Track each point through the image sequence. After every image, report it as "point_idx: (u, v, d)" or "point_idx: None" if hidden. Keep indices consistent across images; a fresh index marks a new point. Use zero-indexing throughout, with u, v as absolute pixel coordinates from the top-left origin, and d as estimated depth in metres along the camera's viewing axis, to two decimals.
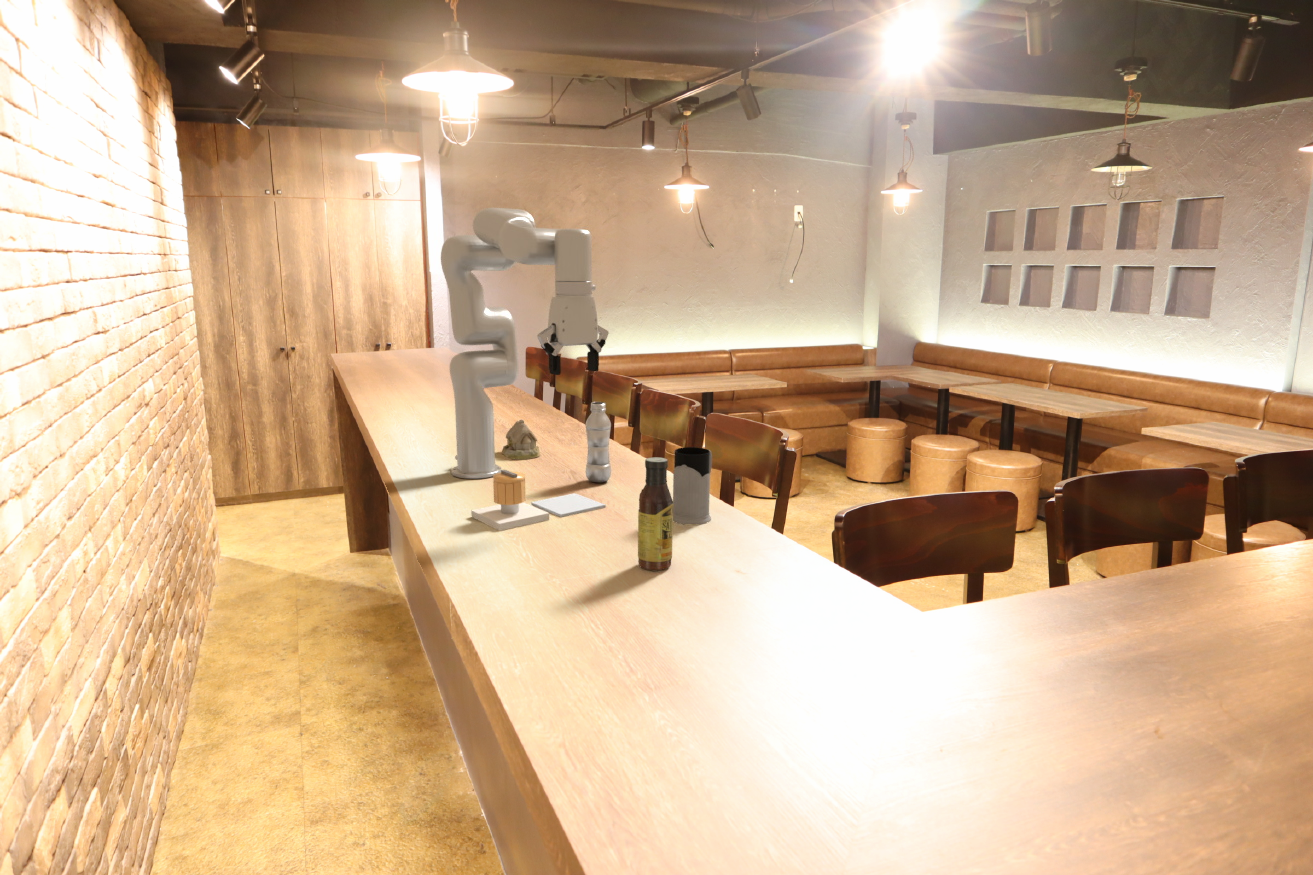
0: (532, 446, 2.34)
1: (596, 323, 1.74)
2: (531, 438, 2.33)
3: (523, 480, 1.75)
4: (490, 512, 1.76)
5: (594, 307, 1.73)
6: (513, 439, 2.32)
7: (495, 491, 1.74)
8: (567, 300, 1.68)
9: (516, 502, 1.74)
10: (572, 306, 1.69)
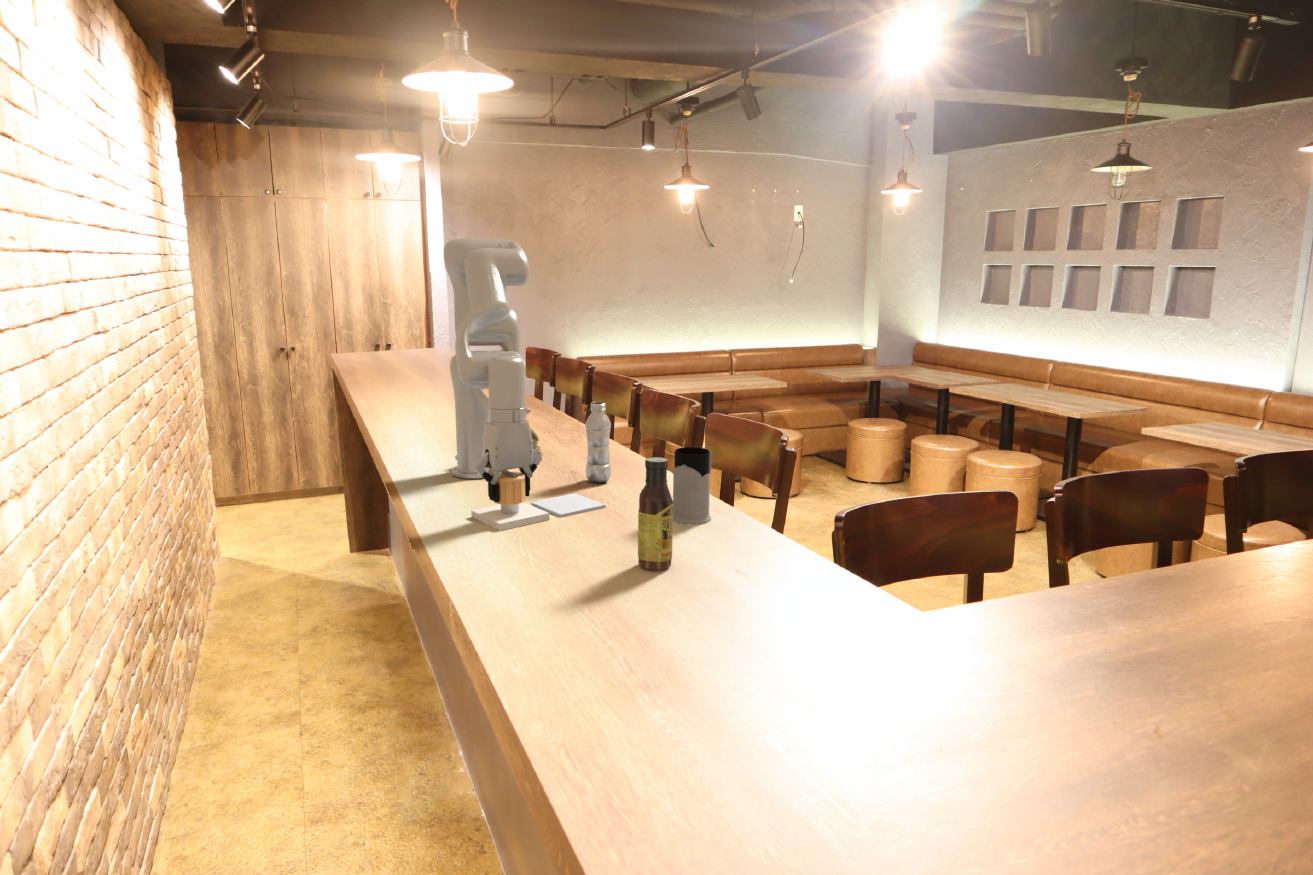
0: (534, 445, 2.35)
1: (531, 446, 1.75)
2: (533, 438, 2.34)
3: (523, 480, 1.75)
4: (490, 512, 1.76)
5: (528, 431, 1.74)
6: None
7: None
8: (500, 428, 1.70)
9: (516, 502, 1.74)
10: (505, 433, 1.70)
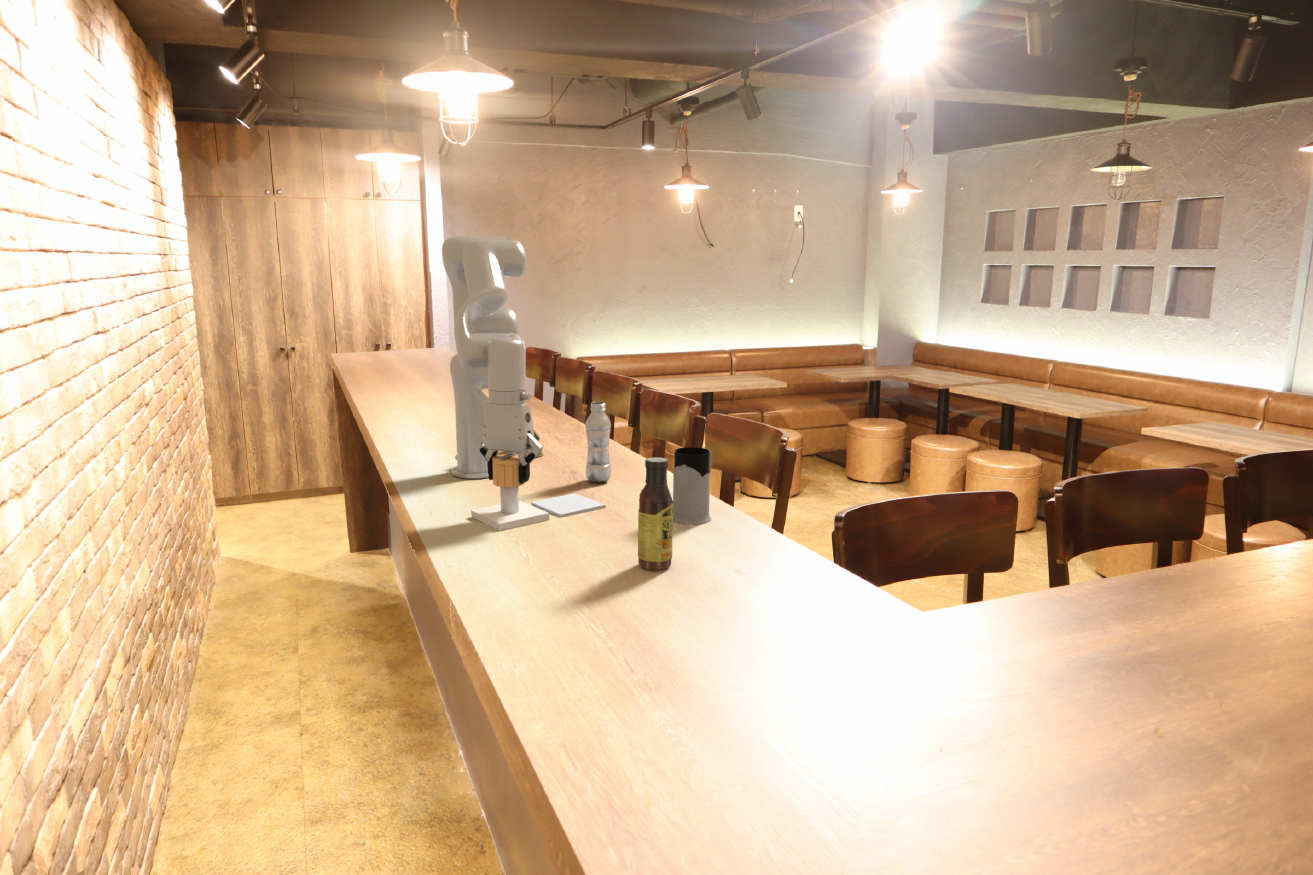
0: None
1: (521, 433, 1.70)
2: (535, 437, 2.34)
3: (509, 465, 1.72)
4: (490, 512, 1.76)
5: (518, 417, 1.70)
6: None
7: None
8: (488, 407, 1.72)
9: (499, 485, 1.73)
10: (493, 413, 1.71)
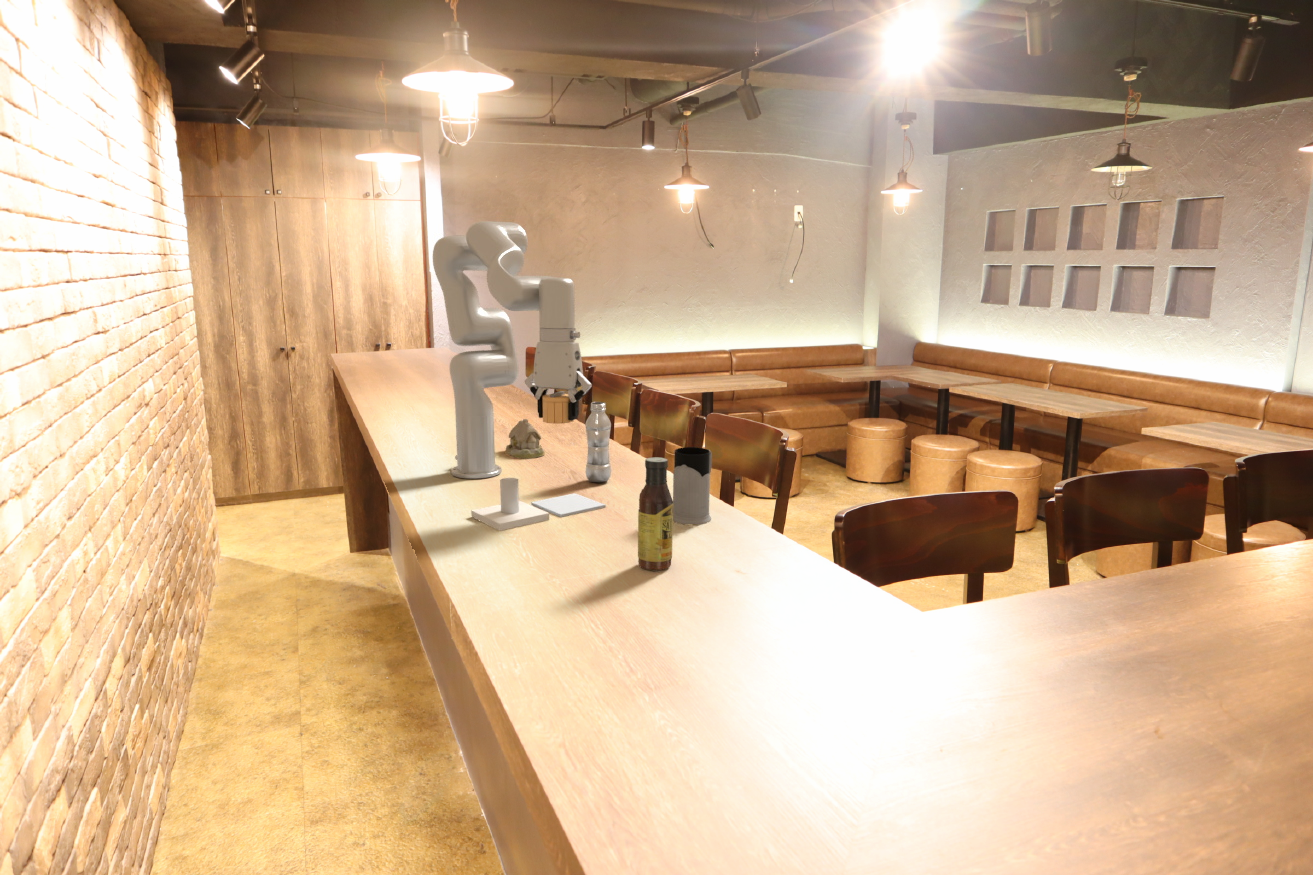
0: (537, 445, 2.35)
1: (571, 370, 1.75)
2: (536, 437, 2.35)
3: (559, 402, 1.77)
4: (490, 512, 1.76)
5: (568, 354, 1.75)
6: (518, 438, 2.33)
7: None
8: (539, 345, 1.77)
9: (549, 421, 1.78)
10: (543, 351, 1.77)
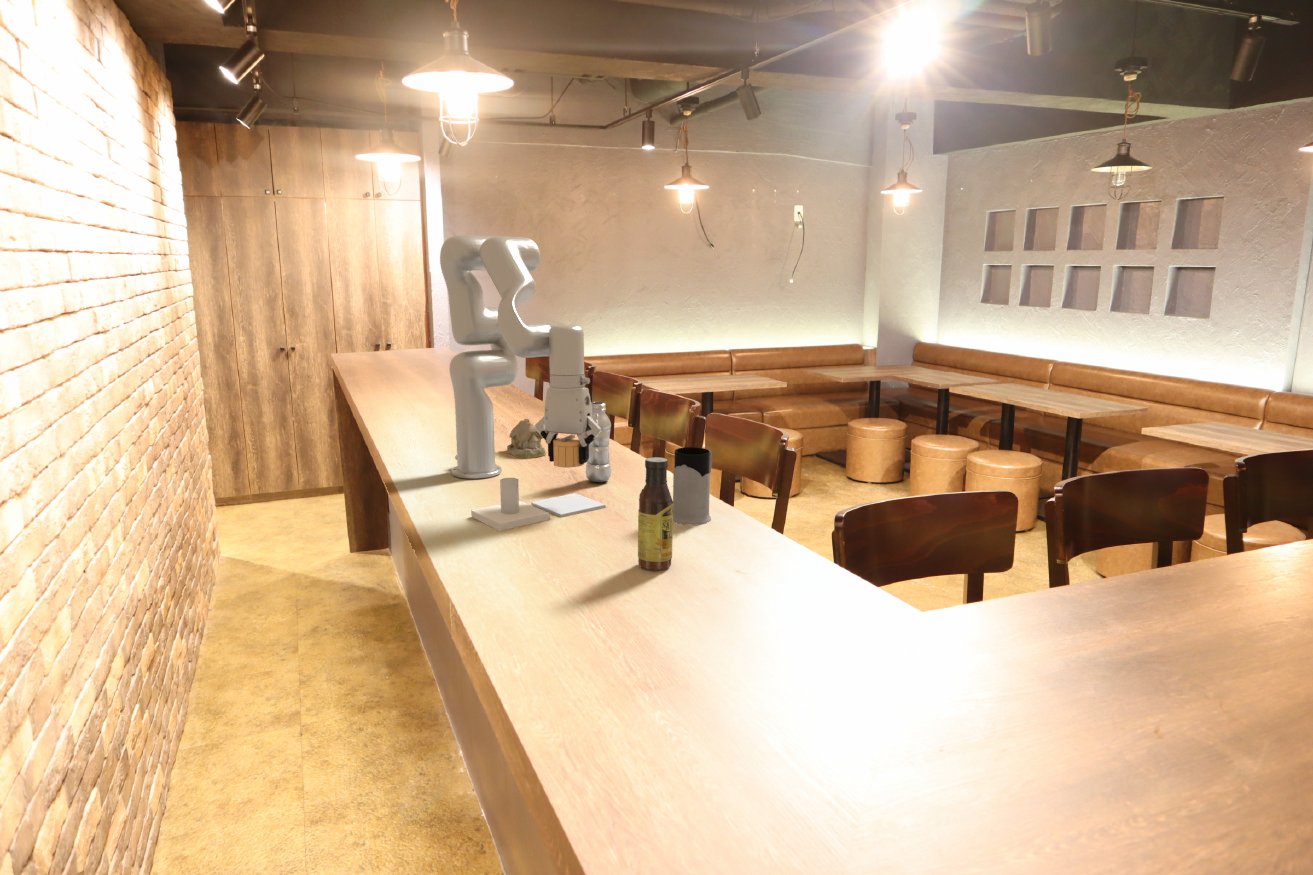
0: (538, 444, 2.36)
1: (581, 415, 1.79)
2: (538, 437, 2.35)
3: (570, 446, 1.81)
4: (490, 512, 1.76)
5: (579, 400, 1.79)
6: (520, 438, 2.34)
7: None
8: (550, 391, 1.80)
9: (560, 465, 1.82)
10: (554, 397, 1.80)
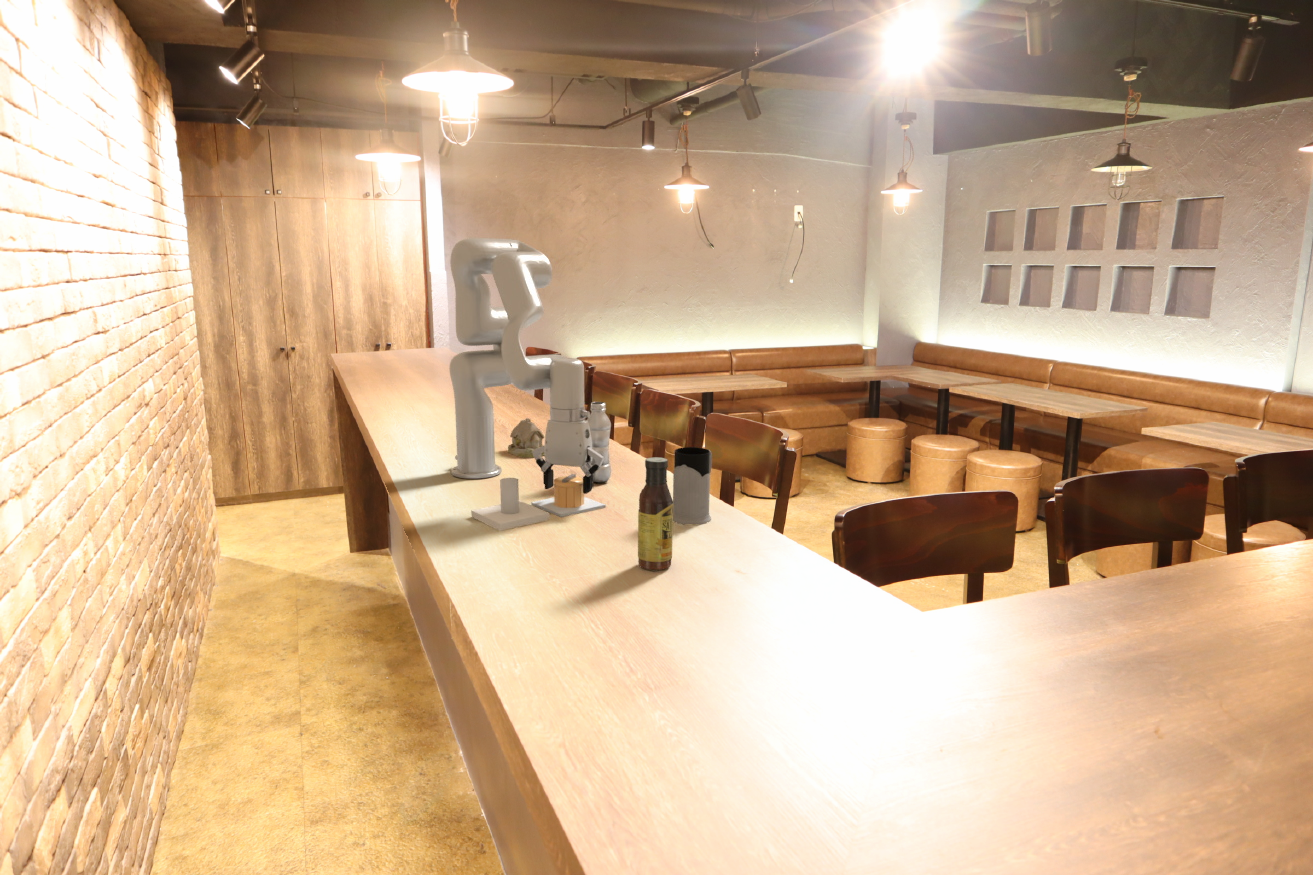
0: (540, 444, 2.37)
1: (581, 448, 1.81)
2: (539, 436, 2.36)
3: (571, 487, 1.83)
4: (490, 512, 1.76)
5: (578, 433, 1.80)
6: (522, 438, 2.34)
7: None
8: (550, 424, 1.82)
9: (561, 505, 1.84)
10: (554, 430, 1.82)
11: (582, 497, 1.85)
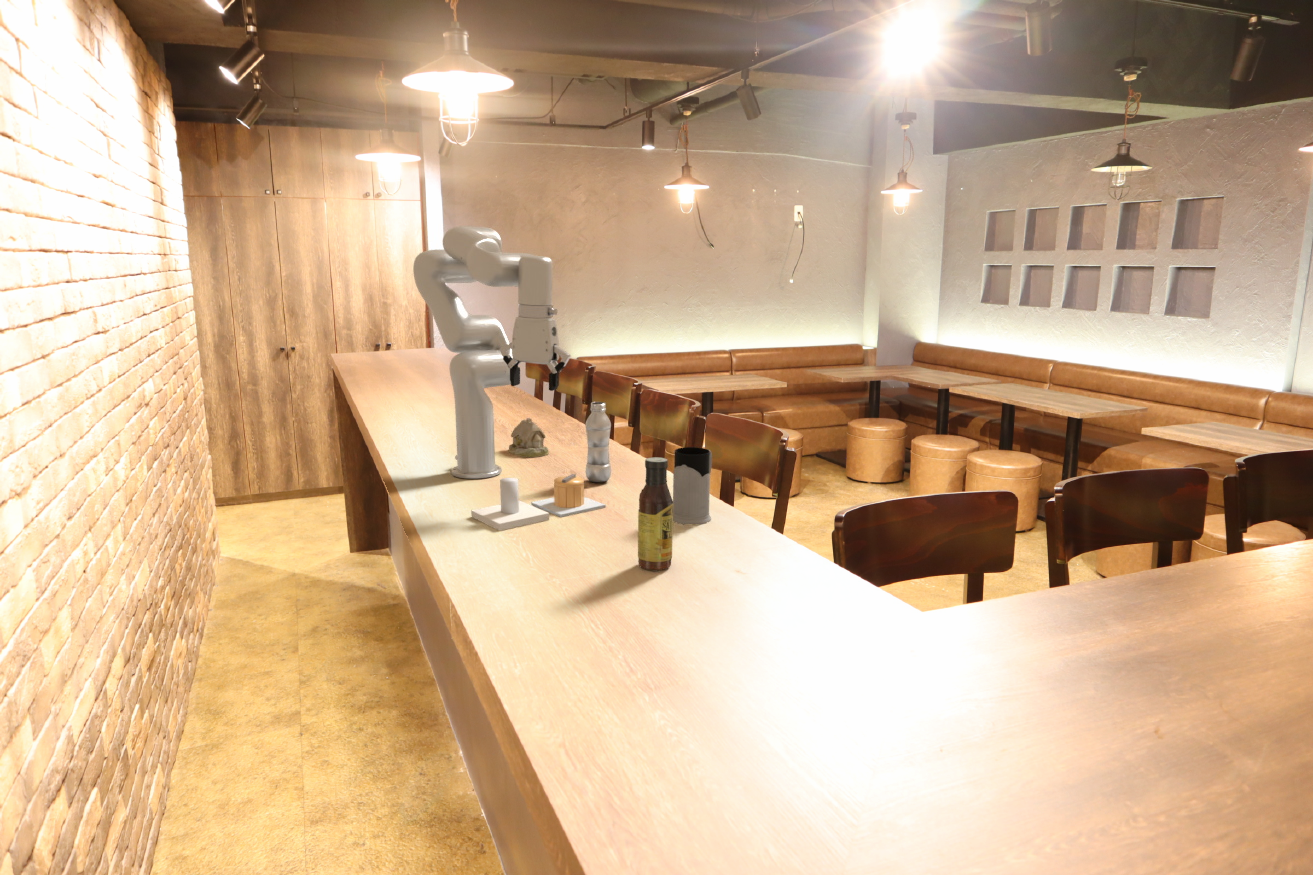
0: (541, 444, 2.37)
1: (547, 345, 1.84)
2: (541, 436, 2.36)
3: (571, 487, 1.83)
4: (490, 512, 1.76)
5: (545, 330, 1.83)
6: (523, 437, 2.34)
7: None
8: (518, 321, 1.85)
9: (561, 505, 1.84)
10: (521, 326, 1.84)
11: (582, 497, 1.85)
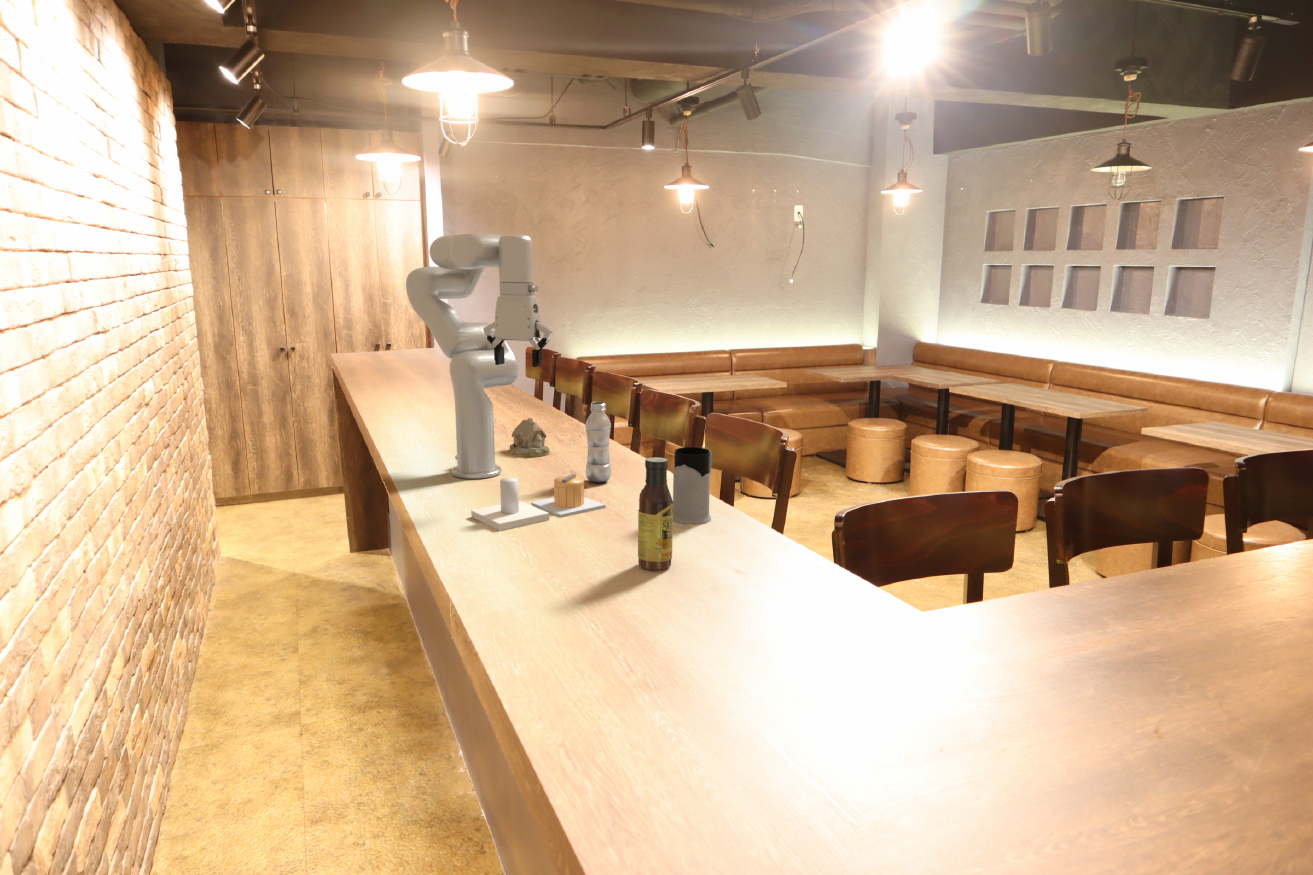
0: (542, 443, 2.37)
1: (529, 322, 1.87)
2: (542, 435, 2.37)
3: (571, 487, 1.83)
4: (490, 512, 1.76)
5: (527, 307, 1.86)
6: (525, 437, 2.35)
7: None
8: (500, 299, 1.88)
9: (561, 505, 1.84)
10: (503, 304, 1.88)
11: (582, 497, 1.85)
